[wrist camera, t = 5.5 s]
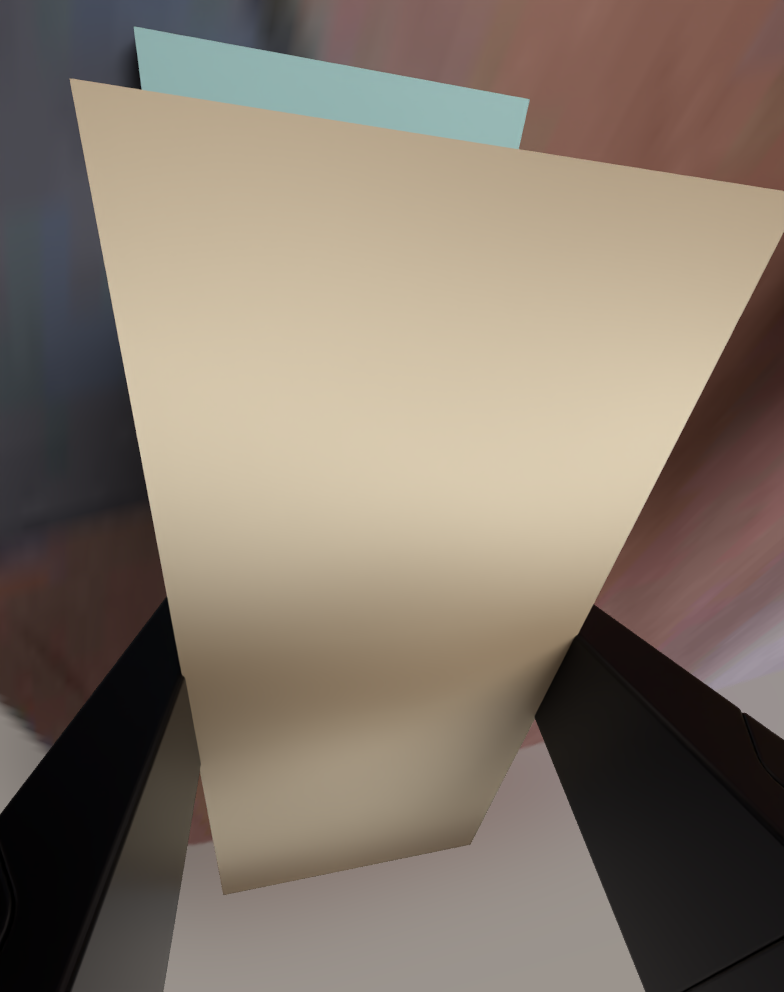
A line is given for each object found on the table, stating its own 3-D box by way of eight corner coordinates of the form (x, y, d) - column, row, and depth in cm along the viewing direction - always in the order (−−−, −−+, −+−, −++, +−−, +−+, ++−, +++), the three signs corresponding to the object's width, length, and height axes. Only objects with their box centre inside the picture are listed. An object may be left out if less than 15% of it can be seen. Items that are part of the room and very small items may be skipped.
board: (432, 714, 13) (470, 844, 11) (230, 741, 12) (222, 895, 10) (597, 165, 6) (802, 194, 4) (157, 98, 5) (69, 78, 3)
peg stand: (140, 32, 9) (40, -44, 5) (516, 100, 10) (678, 88, 6) (209, 602, 17) (194, 752, 13) (414, 588, 18) (457, 716, 14)
